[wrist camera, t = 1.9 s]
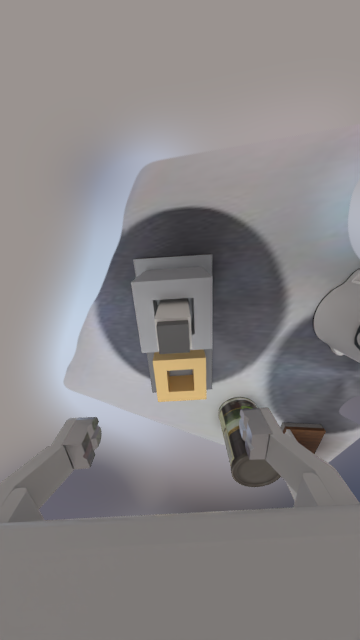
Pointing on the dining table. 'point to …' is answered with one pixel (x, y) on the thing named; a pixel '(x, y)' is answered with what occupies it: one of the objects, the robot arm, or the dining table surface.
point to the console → (196, 285)
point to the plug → (173, 326)
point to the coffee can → (242, 447)
